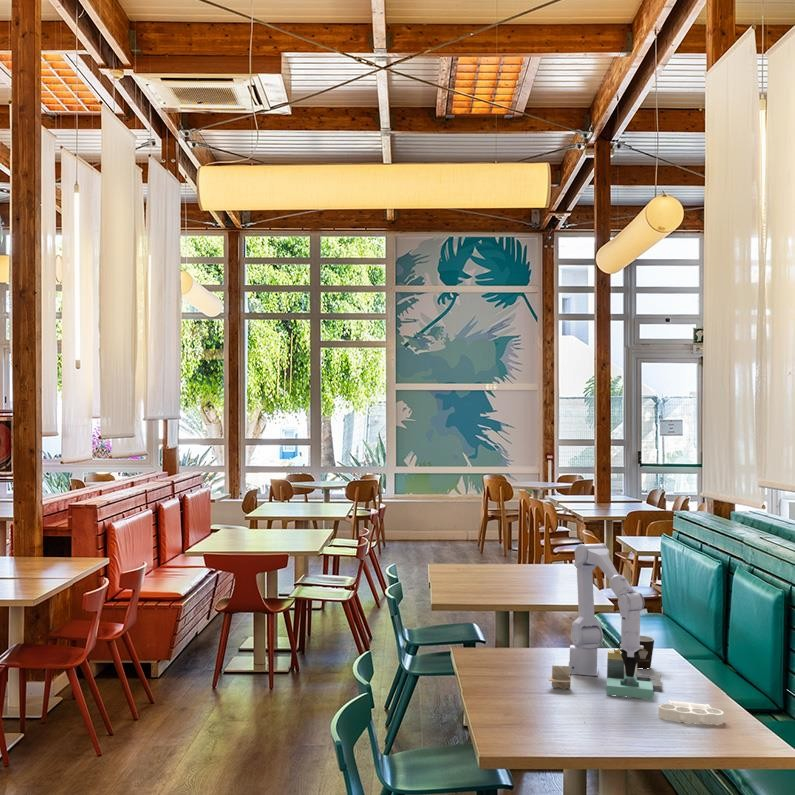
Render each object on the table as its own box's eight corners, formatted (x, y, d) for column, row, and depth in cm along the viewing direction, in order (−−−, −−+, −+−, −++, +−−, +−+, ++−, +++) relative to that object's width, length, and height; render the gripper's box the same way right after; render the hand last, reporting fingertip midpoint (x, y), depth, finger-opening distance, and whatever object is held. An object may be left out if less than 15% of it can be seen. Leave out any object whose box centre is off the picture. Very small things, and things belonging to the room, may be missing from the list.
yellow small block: (607, 658, 293) (607, 649, 293) (607, 656, 296) (607, 647, 296) (626, 660, 292) (626, 651, 292) (626, 658, 294) (626, 649, 294)
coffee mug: (656, 666, 314) (657, 637, 314) (649, 671, 306) (650, 642, 307) (624, 660, 320) (624, 632, 320) (616, 666, 313) (617, 637, 313)
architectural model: (571, 692, 282) (571, 669, 282) (549, 691, 282) (549, 668, 283) (569, 689, 285) (570, 666, 286) (547, 688, 286) (548, 665, 286)
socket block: (606, 686, 288) (607, 663, 289) (607, 676, 300) (607, 654, 300) (661, 691, 284) (661, 668, 285) (659, 680, 296) (660, 658, 296)
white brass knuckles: (720, 714, 264) (725, 730, 250) (657, 708, 269) (659, 723, 255) (720, 703, 264) (726, 718, 250) (657, 696, 269) (659, 711, 255)
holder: (606, 695, 279) (606, 685, 279) (606, 687, 287) (607, 677, 288) (653, 699, 275) (653, 689, 275) (651, 691, 284) (652, 681, 284)
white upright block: (623, 684, 280) (624, 661, 280) (623, 680, 284) (623, 658, 284) (637, 685, 279) (637, 662, 279) (636, 681, 283) (636, 659, 283)
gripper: (644, 637, 274) (643, 682, 274) (643, 627, 288) (642, 669, 288) (620, 635, 276) (619, 679, 275) (620, 625, 290) (619, 667, 289)
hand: (629, 674), depth 282 cm, fingers closed on white upright block, 4 cm apart
